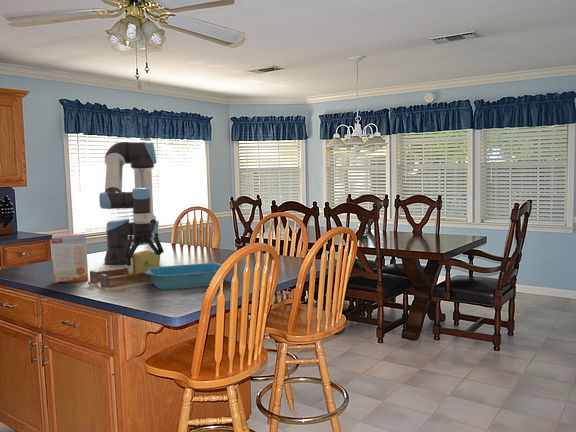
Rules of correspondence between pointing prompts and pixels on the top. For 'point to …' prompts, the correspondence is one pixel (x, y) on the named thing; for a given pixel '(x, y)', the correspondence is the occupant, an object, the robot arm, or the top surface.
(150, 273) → the casserole dish
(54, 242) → the cracker box
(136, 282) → the slot board
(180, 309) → the top surface
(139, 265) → the cheese
